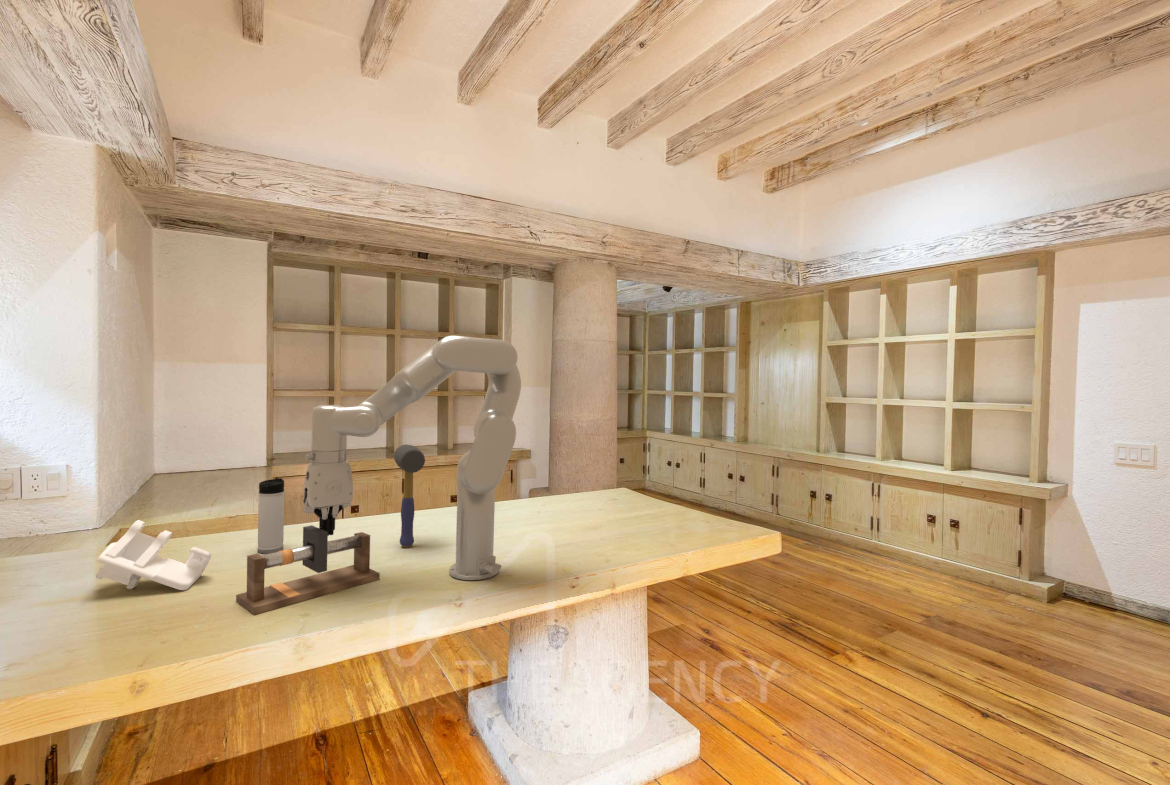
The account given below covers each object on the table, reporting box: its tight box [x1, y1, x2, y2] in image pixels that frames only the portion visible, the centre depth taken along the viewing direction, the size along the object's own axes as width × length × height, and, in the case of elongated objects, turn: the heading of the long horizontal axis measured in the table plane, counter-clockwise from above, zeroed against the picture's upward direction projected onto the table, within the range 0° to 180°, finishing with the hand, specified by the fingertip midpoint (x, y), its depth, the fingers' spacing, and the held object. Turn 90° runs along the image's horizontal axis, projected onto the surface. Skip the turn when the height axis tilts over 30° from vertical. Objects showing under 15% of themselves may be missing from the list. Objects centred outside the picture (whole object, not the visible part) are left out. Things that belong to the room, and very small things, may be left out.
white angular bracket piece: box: [95, 519, 212, 591], centre depth 125 cm, size 20×11×13 cm, turn 109°
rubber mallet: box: [393, 444, 426, 548], centre depth 159 cm, size 12×8×30 cm, turn 29°
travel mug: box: [257, 477, 285, 555], centre depth 152 cm, size 6×7×20 cm
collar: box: [302, 524, 329, 574], centre depth 125 cm, size 2×8×9 cm, turn 51°
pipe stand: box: [235, 531, 381, 616], centre depth 125 cm, size 28×10×11 cm, turn 141°
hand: (327, 534), depth 127 cm, fingers closed
